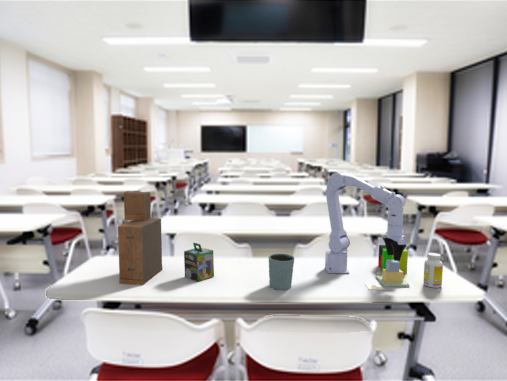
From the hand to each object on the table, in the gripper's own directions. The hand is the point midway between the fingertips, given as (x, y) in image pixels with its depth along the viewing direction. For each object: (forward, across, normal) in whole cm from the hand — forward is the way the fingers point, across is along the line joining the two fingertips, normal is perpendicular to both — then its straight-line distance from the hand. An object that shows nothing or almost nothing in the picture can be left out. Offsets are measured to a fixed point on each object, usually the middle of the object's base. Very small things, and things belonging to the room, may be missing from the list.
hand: (393, 257), depth 152 cm
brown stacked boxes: (+11, +5, +105) cm, 106 cm away
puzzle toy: (+11, +17, -6) cm, 21 cm away
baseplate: (+10, 0, 0) cm, 10 cm away
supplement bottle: (+11, -3, -15) cm, 19 cm away
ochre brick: (+9, 0, 0) cm, 9 cm away
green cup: (+11, -6, +46) cm, 48 cm away
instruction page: (+10, -6, +9) cm, 15 cm away
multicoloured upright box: (+11, +4, +80) cm, 81 cm away
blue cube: (+5, 0, 0) cm, 5 cm away
